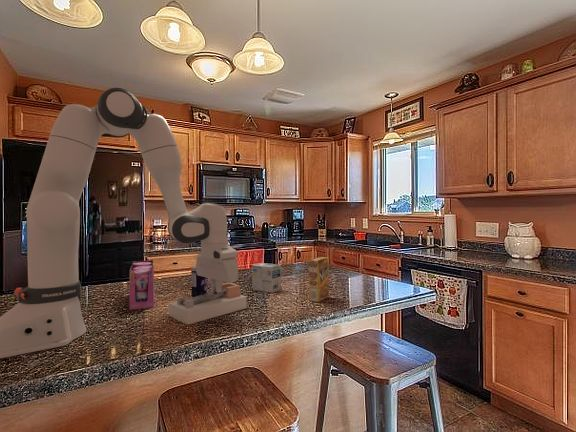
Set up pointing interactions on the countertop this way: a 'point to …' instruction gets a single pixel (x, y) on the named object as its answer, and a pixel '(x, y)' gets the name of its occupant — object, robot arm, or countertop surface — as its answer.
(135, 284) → the gum box
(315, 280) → the candy box
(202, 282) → the beverage can
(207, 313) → the hinged pedal on base
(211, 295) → the dark grey flat bar
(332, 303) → the countertop surface
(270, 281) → the light bulb box
